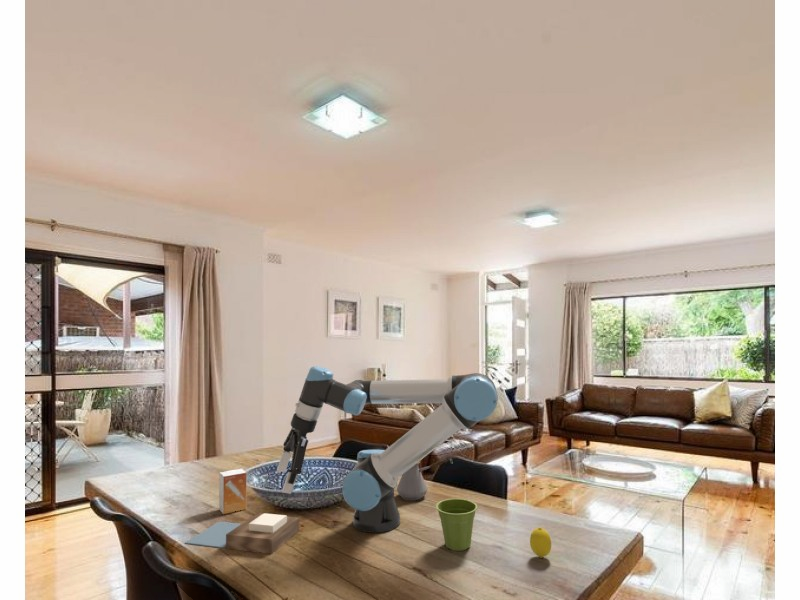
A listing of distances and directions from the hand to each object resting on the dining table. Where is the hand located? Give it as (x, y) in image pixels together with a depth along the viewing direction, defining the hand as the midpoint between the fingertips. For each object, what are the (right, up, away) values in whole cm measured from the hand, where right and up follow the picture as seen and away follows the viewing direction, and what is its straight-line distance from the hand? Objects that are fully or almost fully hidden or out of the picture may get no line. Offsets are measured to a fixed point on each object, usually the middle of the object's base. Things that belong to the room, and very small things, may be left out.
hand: (283, 481), depth 146 cm
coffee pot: (+45, -18, +30) cm, 57 cm away
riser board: (-5, -16, -3) cm, 17 cm away
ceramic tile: (-4, -12, -3) cm, 13 cm away
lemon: (+74, -14, -18) cm, 77 cm away
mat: (-20, -17, +2) cm, 26 cm away
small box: (-24, -19, +22) cm, 38 cm away
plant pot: (+52, -15, -10) cm, 55 cm away
